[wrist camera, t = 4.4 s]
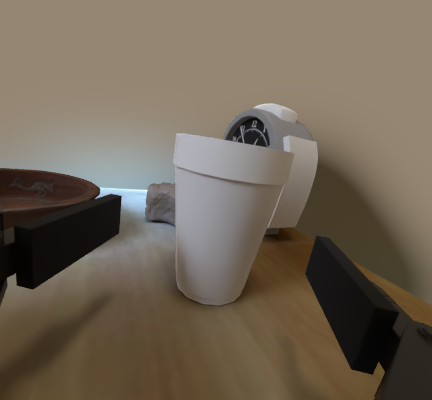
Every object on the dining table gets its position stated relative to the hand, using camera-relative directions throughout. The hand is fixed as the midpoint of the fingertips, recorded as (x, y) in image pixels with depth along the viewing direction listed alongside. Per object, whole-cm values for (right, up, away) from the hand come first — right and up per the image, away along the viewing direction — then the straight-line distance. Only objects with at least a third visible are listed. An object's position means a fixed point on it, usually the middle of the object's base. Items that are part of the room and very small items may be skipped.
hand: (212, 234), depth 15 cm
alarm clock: (+6, -2, +26) cm, 27 cm away
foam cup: (0, -6, +7) cm, 9 cm away
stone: (-6, -1, +21) cm, 22 cm away
